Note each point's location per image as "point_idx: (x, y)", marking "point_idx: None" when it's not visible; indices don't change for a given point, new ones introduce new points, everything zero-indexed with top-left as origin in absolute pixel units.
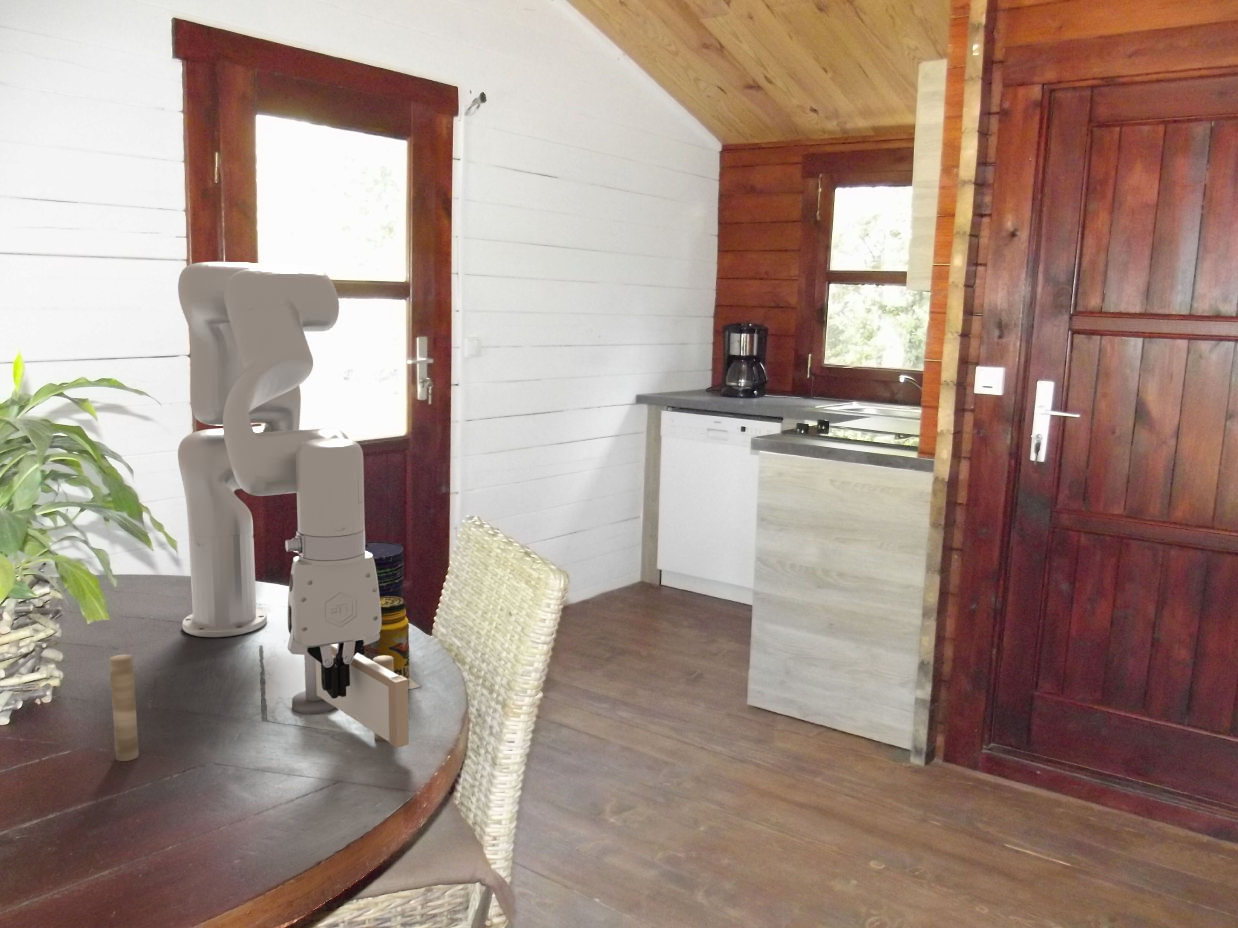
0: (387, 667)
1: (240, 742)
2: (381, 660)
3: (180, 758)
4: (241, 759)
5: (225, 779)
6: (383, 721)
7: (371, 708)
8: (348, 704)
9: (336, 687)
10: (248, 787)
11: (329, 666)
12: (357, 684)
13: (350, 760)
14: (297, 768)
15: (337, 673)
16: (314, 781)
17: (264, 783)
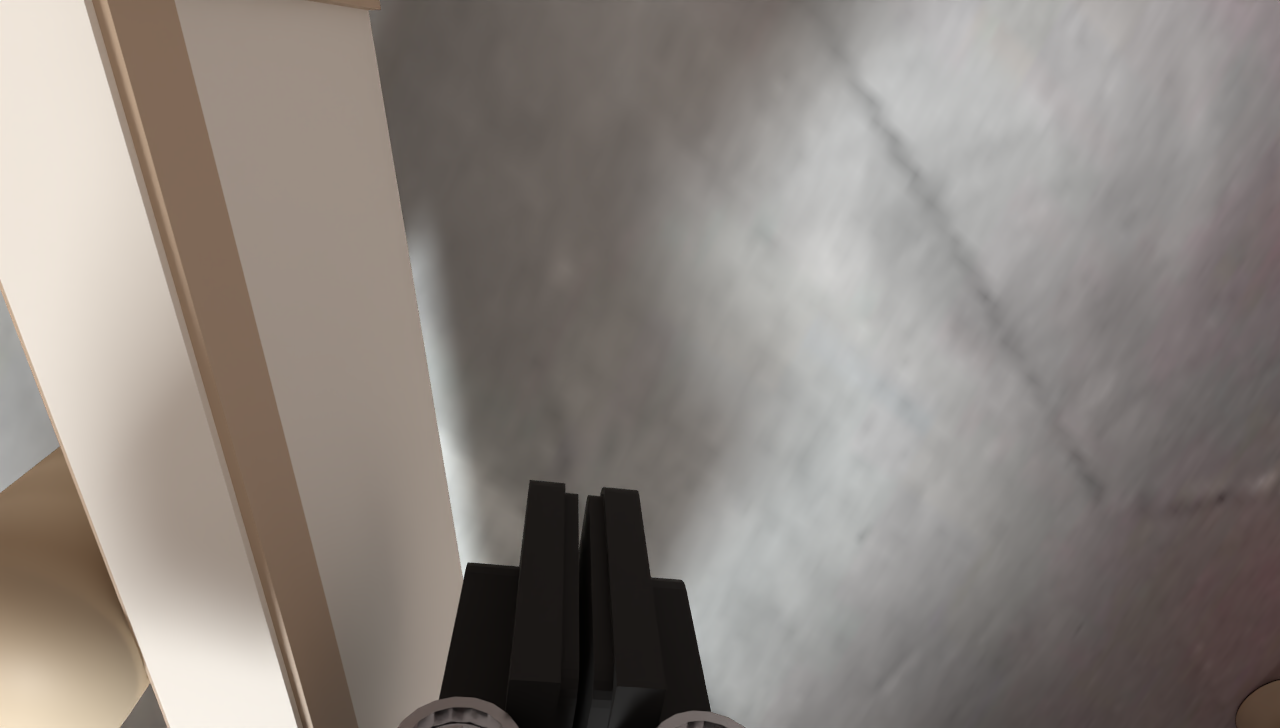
0: (17, 516)
1: (919, 618)
2: (34, 636)
3: (1163, 605)
4: (1003, 472)
5: (1161, 330)
6: (352, 128)
7: (375, 320)
8: (443, 572)
9: (615, 532)
10: (1143, 187)
11: (692, 714)
12: (383, 583)
13: (605, 155)
14: (867, 238)
15: (600, 632)
16: (879, 32)
17: (1069, 180)
